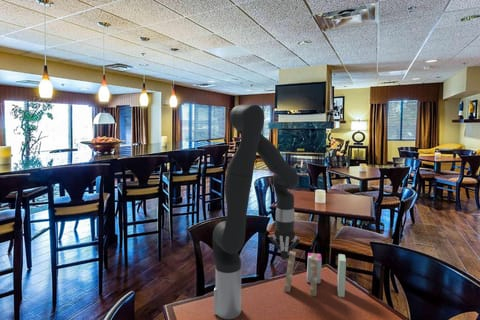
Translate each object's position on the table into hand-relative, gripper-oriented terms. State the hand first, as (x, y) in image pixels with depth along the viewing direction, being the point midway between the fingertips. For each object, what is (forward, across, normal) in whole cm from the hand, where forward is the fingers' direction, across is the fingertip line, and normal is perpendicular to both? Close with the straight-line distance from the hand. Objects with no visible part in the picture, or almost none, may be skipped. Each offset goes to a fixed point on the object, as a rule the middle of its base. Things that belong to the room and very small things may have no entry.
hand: (284, 258), depth 125 cm
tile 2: (+13, +12, 0) cm, 17 cm away
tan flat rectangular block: (+12, +2, 0) cm, 13 cm away
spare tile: (+13, +23, +2) cm, 26 cm away
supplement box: (+13, +12, +9) cm, 20 cm away
